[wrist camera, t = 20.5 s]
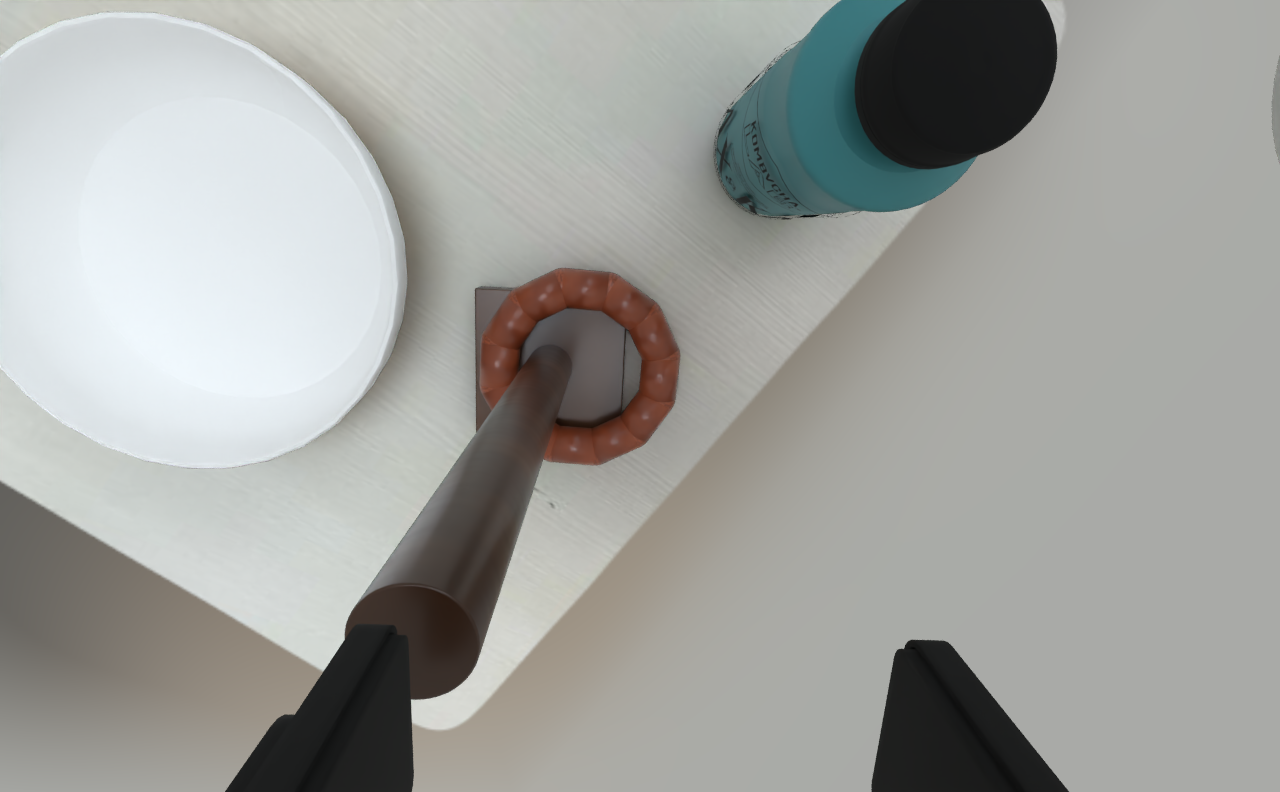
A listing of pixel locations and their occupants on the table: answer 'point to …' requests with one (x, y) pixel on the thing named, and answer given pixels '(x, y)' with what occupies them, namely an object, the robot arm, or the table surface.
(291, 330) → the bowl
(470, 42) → the table surface
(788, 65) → the beverage bottle
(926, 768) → the robot arm
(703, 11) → the table surface
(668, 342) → the ring
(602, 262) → the table surface
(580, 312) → the peg post
